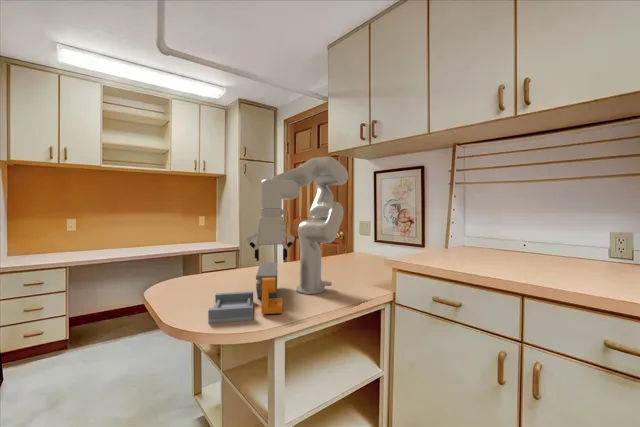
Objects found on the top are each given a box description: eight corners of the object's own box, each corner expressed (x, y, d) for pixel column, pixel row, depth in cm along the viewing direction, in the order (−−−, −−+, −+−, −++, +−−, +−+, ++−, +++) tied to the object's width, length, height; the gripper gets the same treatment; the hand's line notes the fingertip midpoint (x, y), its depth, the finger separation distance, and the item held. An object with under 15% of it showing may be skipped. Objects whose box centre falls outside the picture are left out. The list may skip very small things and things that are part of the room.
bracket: (282, 315, 103) (282, 281, 102) (261, 316, 102) (261, 282, 101) (282, 304, 113) (282, 274, 113) (263, 305, 112) (263, 274, 112)
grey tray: (253, 301, 116) (253, 291, 116) (252, 319, 98) (252, 307, 98) (216, 304, 113) (216, 293, 113) (208, 323, 95) (208, 310, 95)
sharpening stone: (260, 285, 139) (260, 262, 138) (277, 285, 140) (277, 262, 139) (256, 303, 114) (256, 276, 113) (276, 303, 115) (276, 275, 114)
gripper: (294, 213, 112) (293, 257, 112) (247, 212, 108) (247, 258, 109) (296, 213, 104) (295, 261, 105) (246, 213, 101) (246, 262, 102)
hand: (271, 260), depth 107 cm, fingers open, 9 cm apart
